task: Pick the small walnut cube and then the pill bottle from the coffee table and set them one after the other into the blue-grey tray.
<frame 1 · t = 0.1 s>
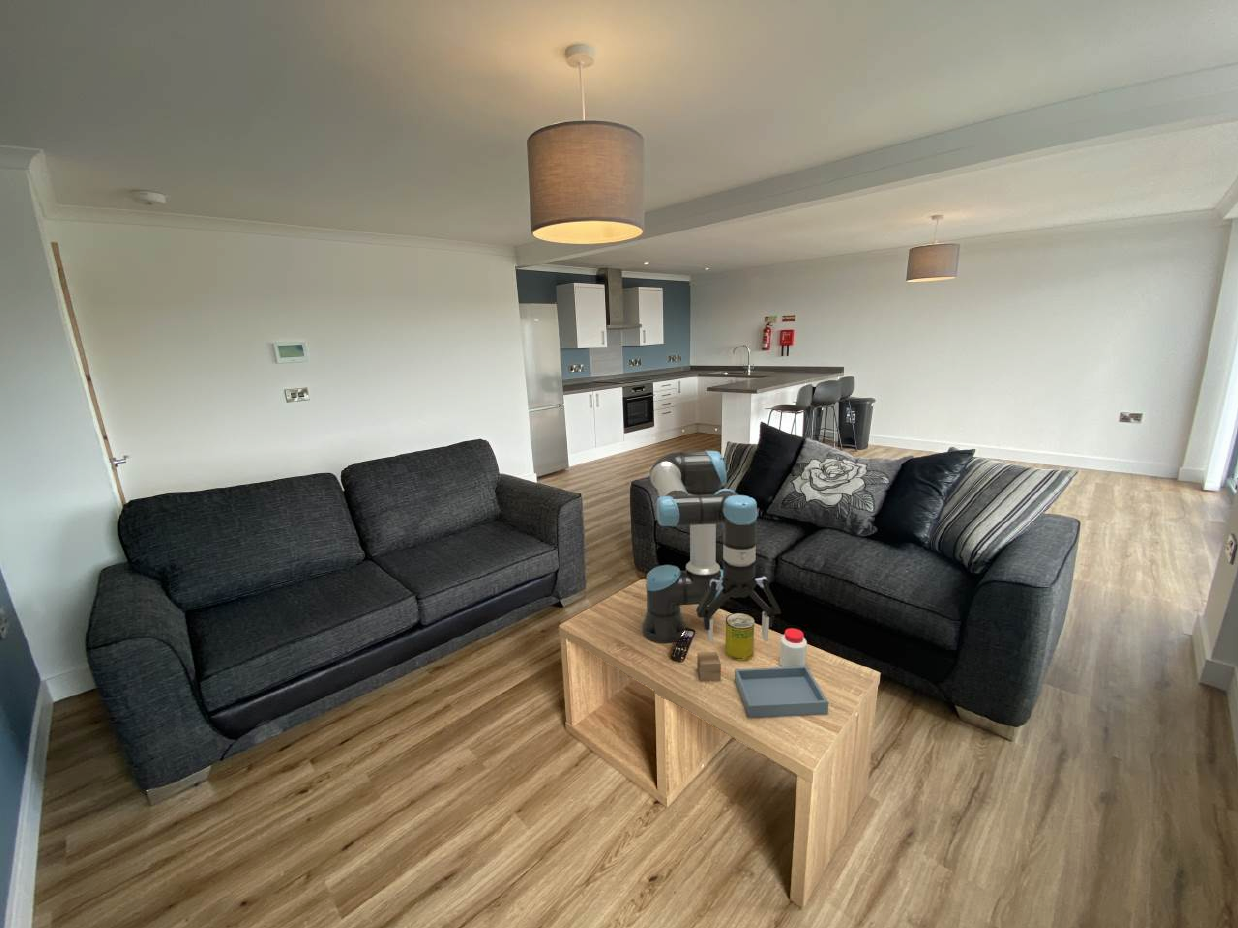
hand: (737, 639, 126), 28 cm above the table, fingers open, 13 cm apart
blue-grey tray: (778, 696, 146), on the table
beverage can: (739, 653, 166), on the table
walnut cube: (708, 674, 156), on the table
pill bottle: (792, 664, 160), on the table
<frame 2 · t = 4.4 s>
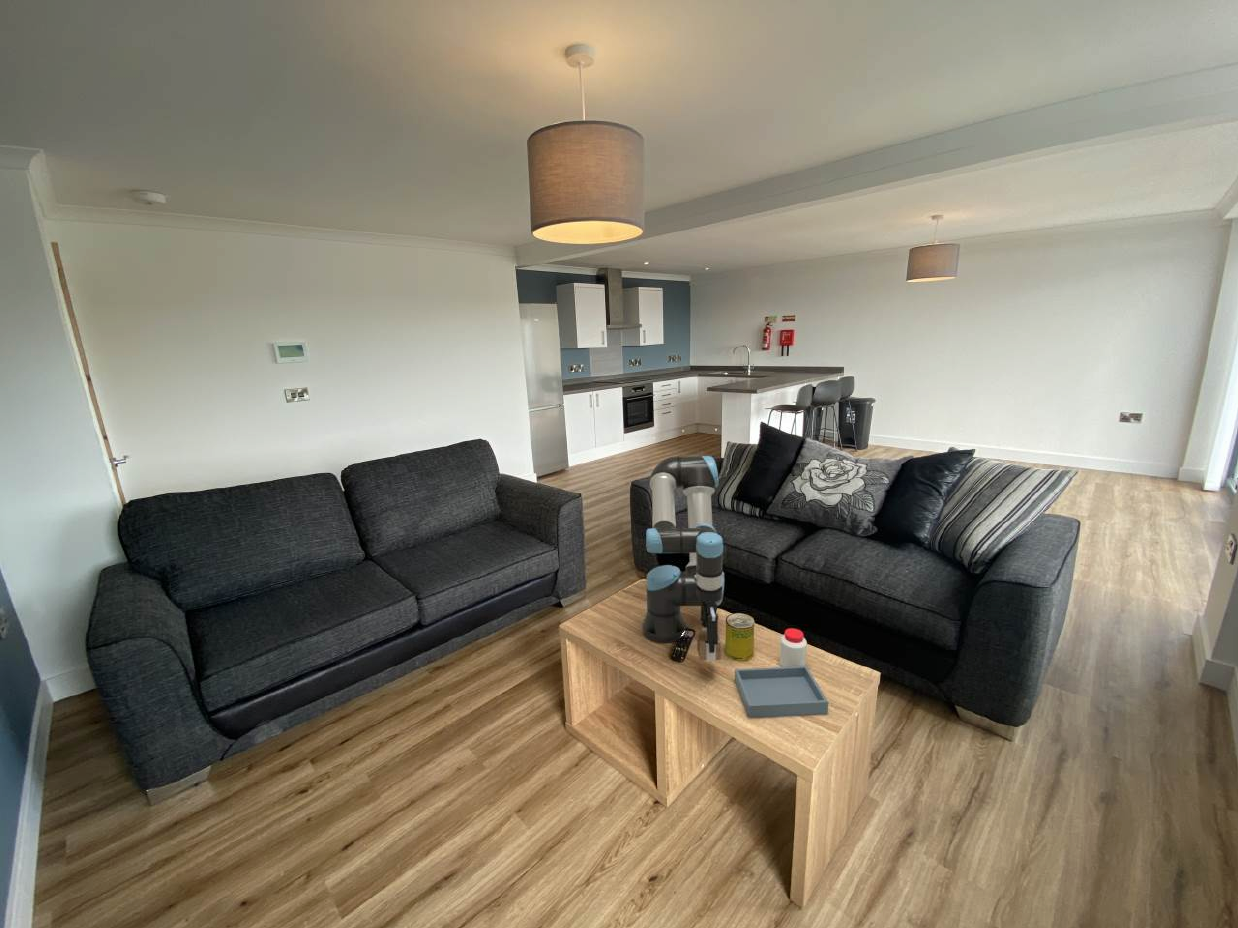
hand: (708, 652, 155), 7 cm above the table, fingers closed on walnut cube, 6 cm apart
walnut cube: (708, 653, 155), point 7 cm above the table, touching gripper
everything else where it was.
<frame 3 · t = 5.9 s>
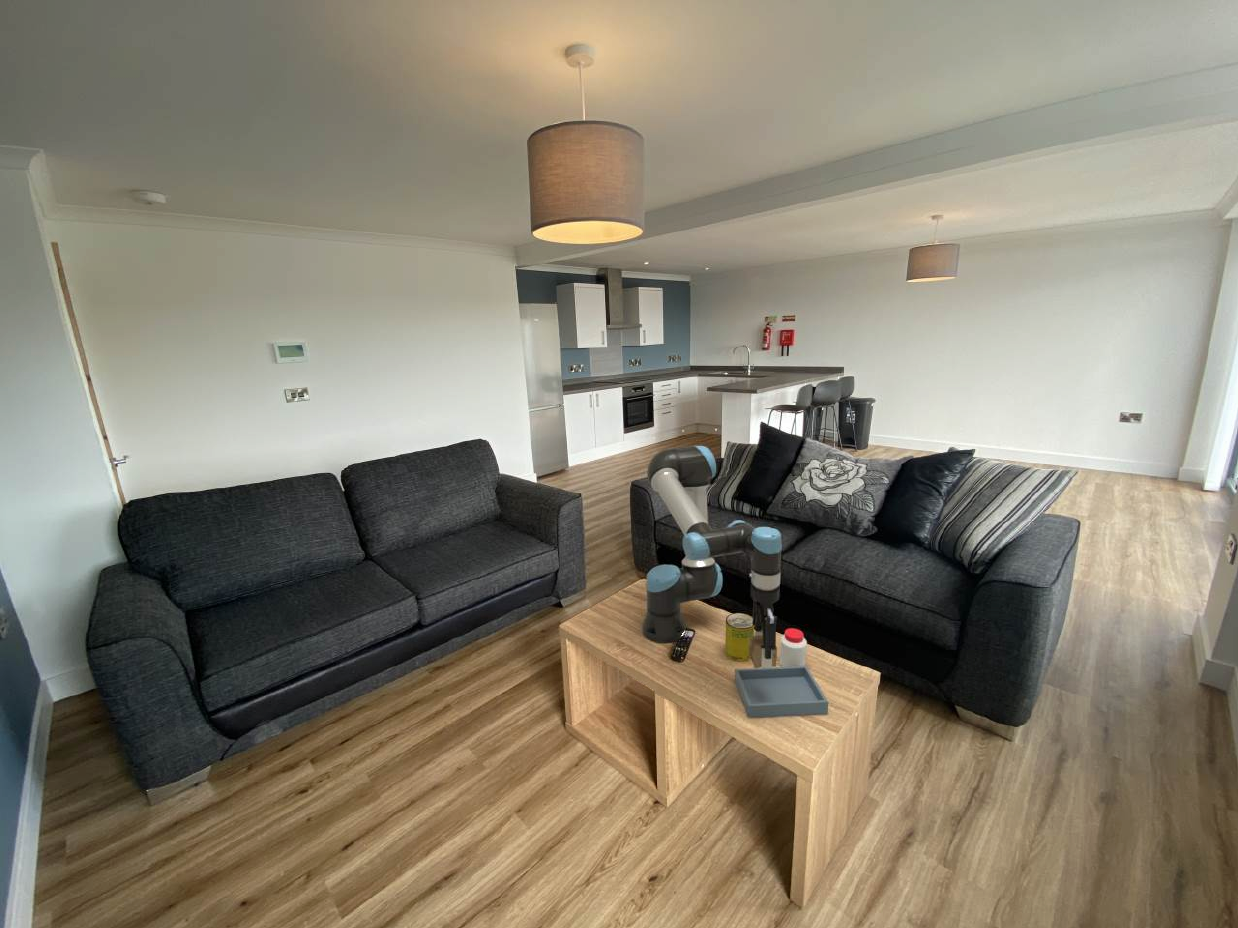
hand: (762, 659, 143), 12 cm above the table, fingers closed on walnut cube, 6 cm apart
walnut cube: (762, 660, 143), point 12 cm above the table, touching gripper
everything else where it was.
when the fingers open (3 cm above the table, at t = 7.7 s): walnut cube drops 2 cm, resting on blue-grey tray.
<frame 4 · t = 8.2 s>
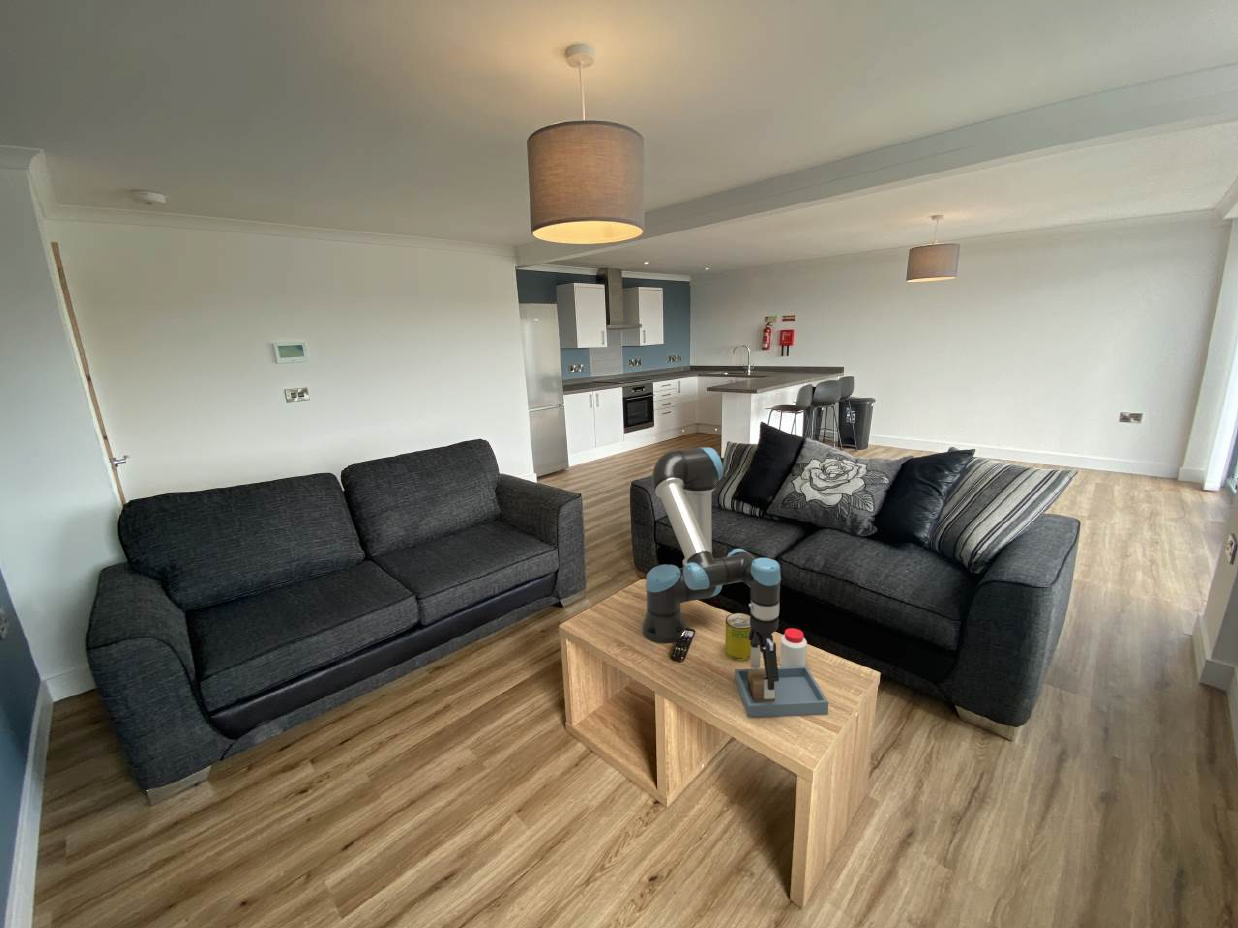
hand: (761, 681, 145), 5 cm above the table, fingers open, 13 cm apart
walnut cube: (761, 694, 146), point 1 cm above the table, touching blue-grey tray
everything else where it was.
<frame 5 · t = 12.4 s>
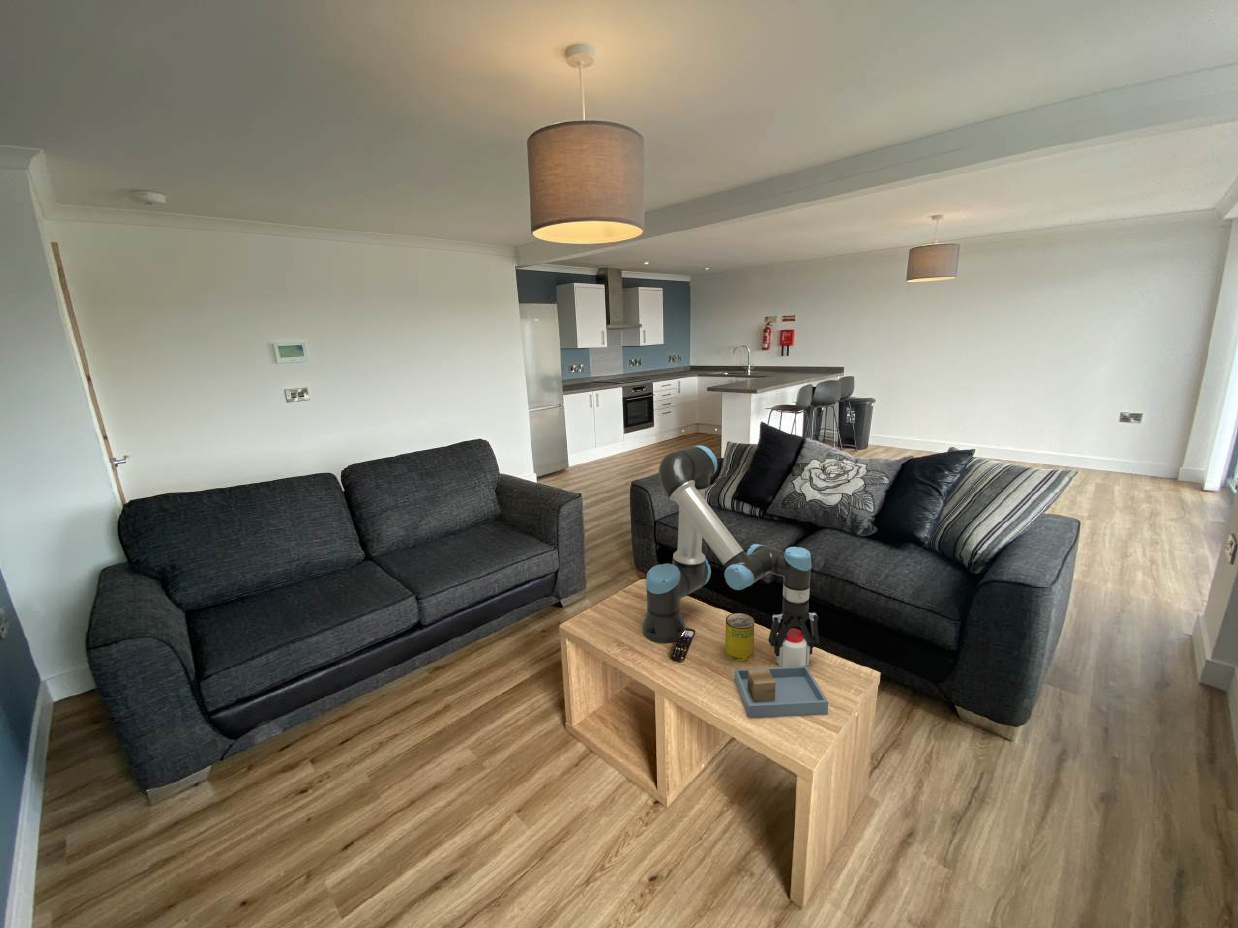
hand: (792, 663, 160), 0 cm above the table, fingers closed on pill bottle, 8 cm apart
pill bottle: (792, 664, 160), on the table, touching gripper
everything else where it was.
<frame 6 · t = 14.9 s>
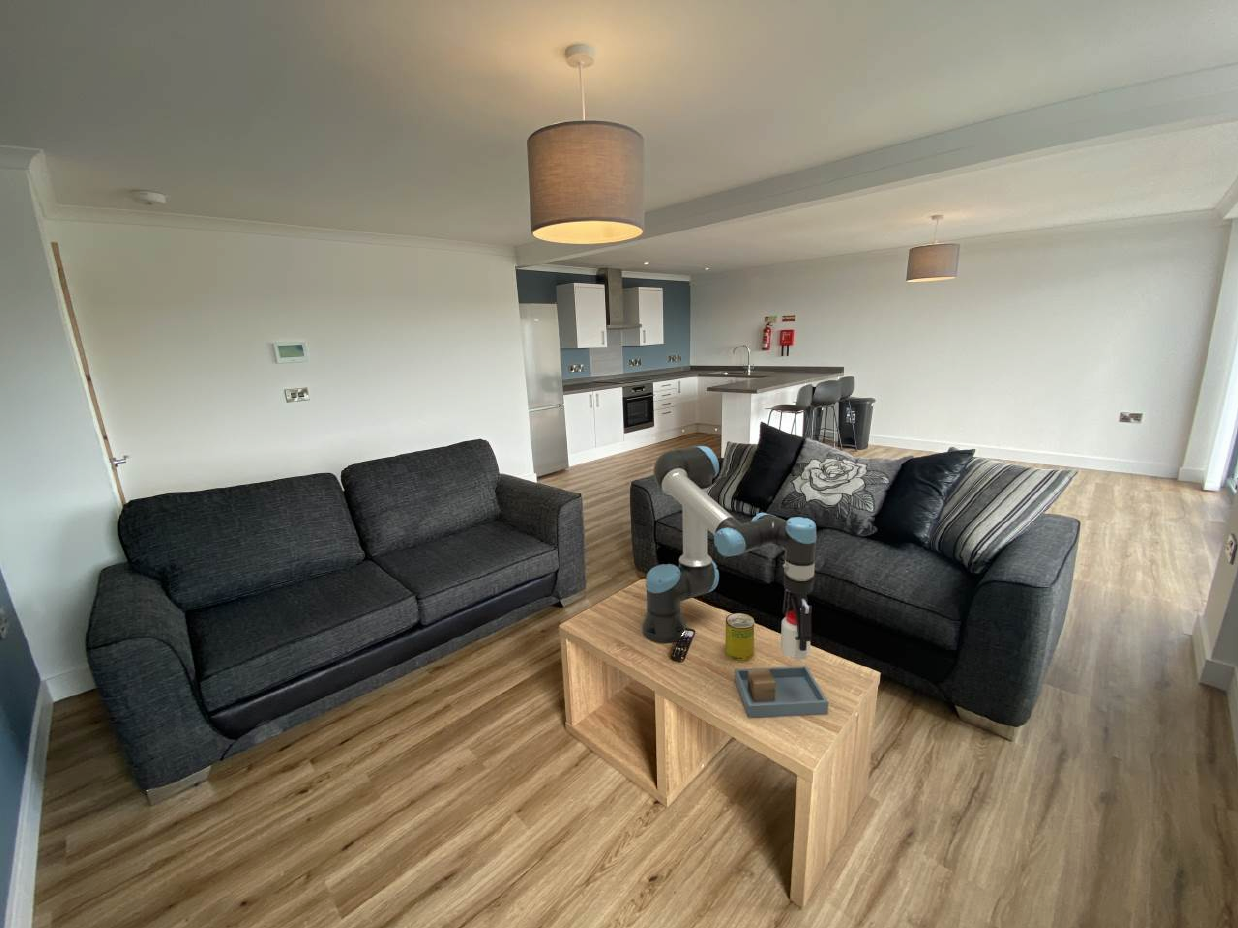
hand: (795, 649, 142), 15 cm above the table, fingers closed on pill bottle, 8 cm apart
pill bottle: (794, 650, 143), point 15 cm above the table, touching gripper
everything else where it was.
when the fingers open (4 cm above the table, at t = 17.3 s): pill bottle drops 3 cm, resting on blue-grey tray.
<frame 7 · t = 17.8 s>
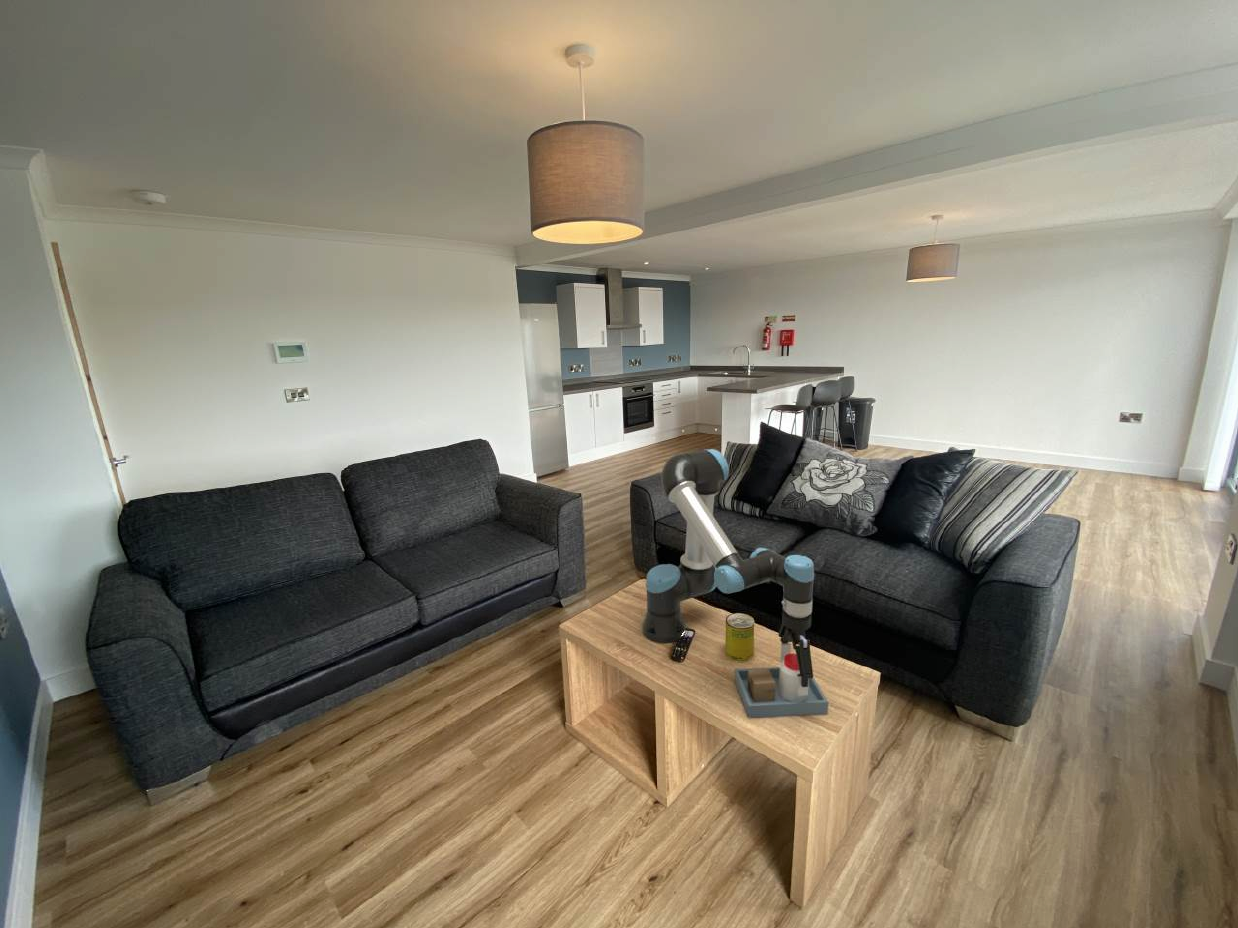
hand: (793, 678, 145), 6 cm above the table, fingers open, 13 cm apart
pill bottle: (792, 693, 146), point 1 cm above the table, touching blue-grey tray
everything else where it was.
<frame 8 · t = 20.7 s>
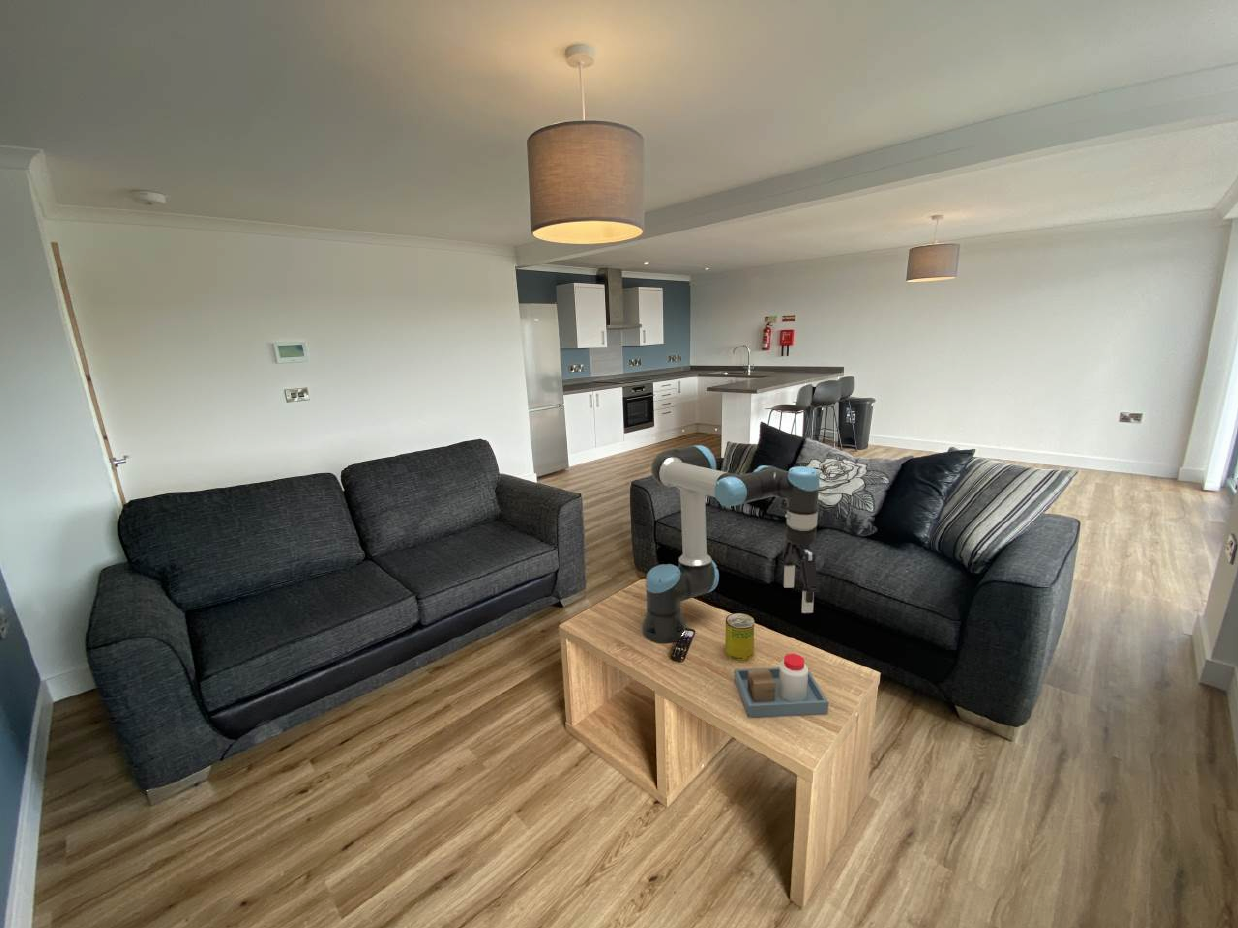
hand: (797, 598, 139), 31 cm above the table, fingers open, 13 cm apart
nothing on the table moved.
at the end: pill bottle inside the target area on the blue-grey tray (4.0 cm from its centre), point 0.6 cm above the blue-grey tray's base; walnut cube inside the target area on the blue-grey tray (5.1 cm from its centre), point 0.8 cm above the blue-grey tray's base; the gripper is holding nothing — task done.
